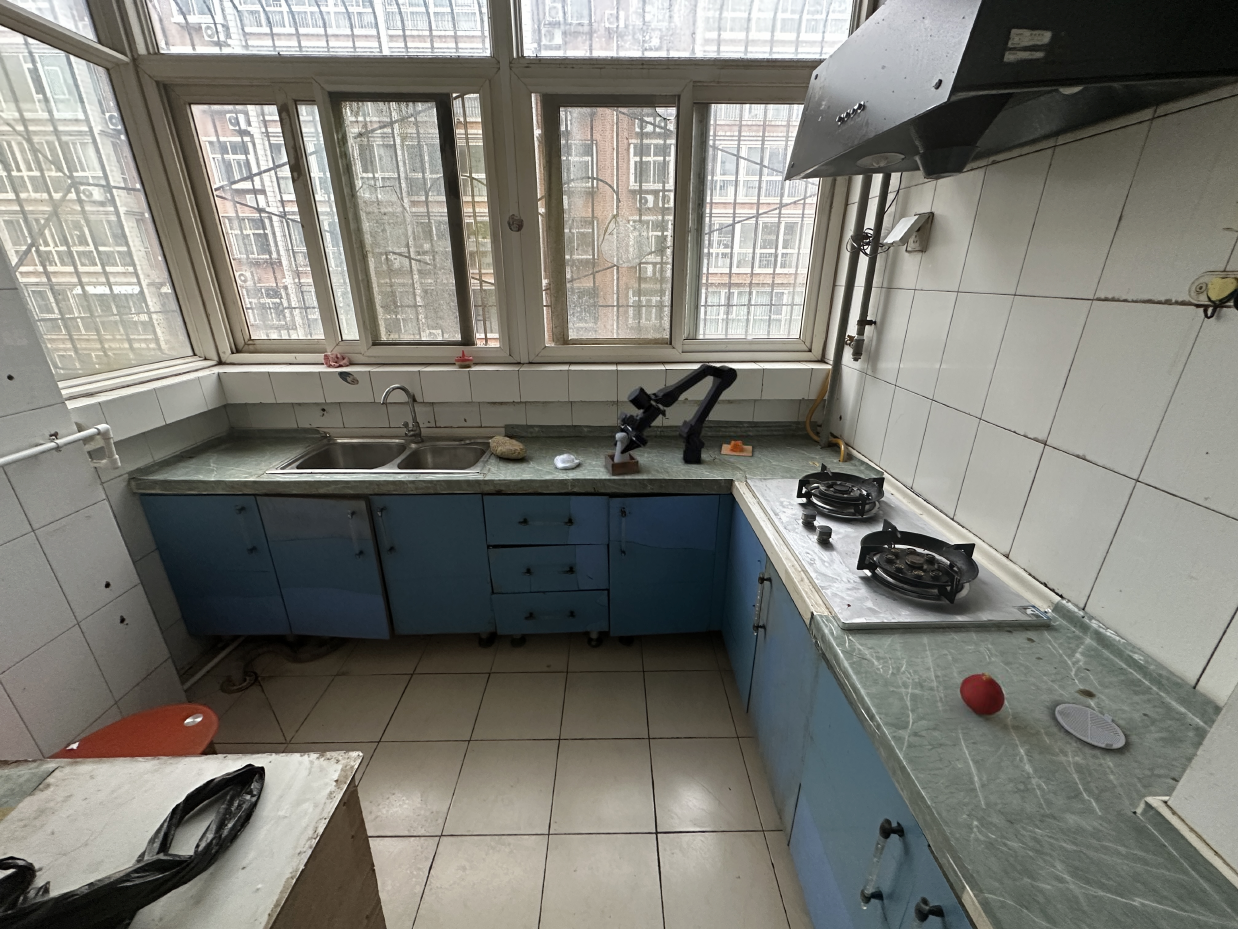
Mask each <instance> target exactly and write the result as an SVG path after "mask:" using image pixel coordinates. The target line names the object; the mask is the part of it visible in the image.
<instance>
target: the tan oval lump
mask: <svg viewBox="0 0 1238 929" xmlns="http://www.w3.org/2000/svg"><path fill="white" fill-rule="evenodd" d="M489 447H490V450H491V453H493V454H494V455H495V456H496V457H497V456H498V457H500V458H503V459H510V460H511V459H512V460H516V459H517V460H518V459H519V460H520V459H522V458H524V457H525V456H526V454H527V448H526V447H525V445H524V444H522V443H521V442H519V441H517V440H515V439H513V438H512V439H511V438H509V437H507V436H503V435H497V436H494V437H493V438H491V439H490V443H489Z"/></svg>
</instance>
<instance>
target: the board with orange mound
mask: <svg viewBox="0 0 1238 929" xmlns="http://www.w3.org/2000/svg"><path fill="white" fill-rule="evenodd" d="M720 455H732V456H744V457H745V456H746V457H747V456H748V457H752V455H753V446H752V445H743V441H742V440H737V441H736V440H731V442H730V444H723V443H722V446H721V451H720Z"/></svg>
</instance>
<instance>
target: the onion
mask: <svg viewBox="0 0 1238 929" xmlns="http://www.w3.org/2000/svg"><path fill="white" fill-rule="evenodd" d="M959 694H960V697H961V700H962V702H964V704H965V705H966V706H967V707H968V708H969V709H970V710H971V711H972V712H973V713H974V714H978V715H982V716H992V715H996V714H997V713H999V712H1001V710H1002V709H1003V708H1004V705H1005V701H1006V697H1005V693H1004V691H1003V689H1002V686H1001V685H1000V684H999V682H997V681H996V679H994V678H993V677H992V676H991V675H990V673H987V672H981V673H975V674H970V675H968V676H967V677H965V678H964V679H962V680H961V683H960V686H959Z"/></svg>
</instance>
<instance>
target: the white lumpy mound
mask: <svg viewBox="0 0 1238 929" xmlns="http://www.w3.org/2000/svg"><path fill="white" fill-rule="evenodd" d="M553 462H554V465H555V467H556V468H557V469H558V470H570V469H574V468H575V467H577V466H578V465H579V464H580V462H581V461H580V460H579V459H576V458H575V456H574V455H573V454H571V453H564V454H561V455H556V457H555V458H554V461H553Z"/></svg>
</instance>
